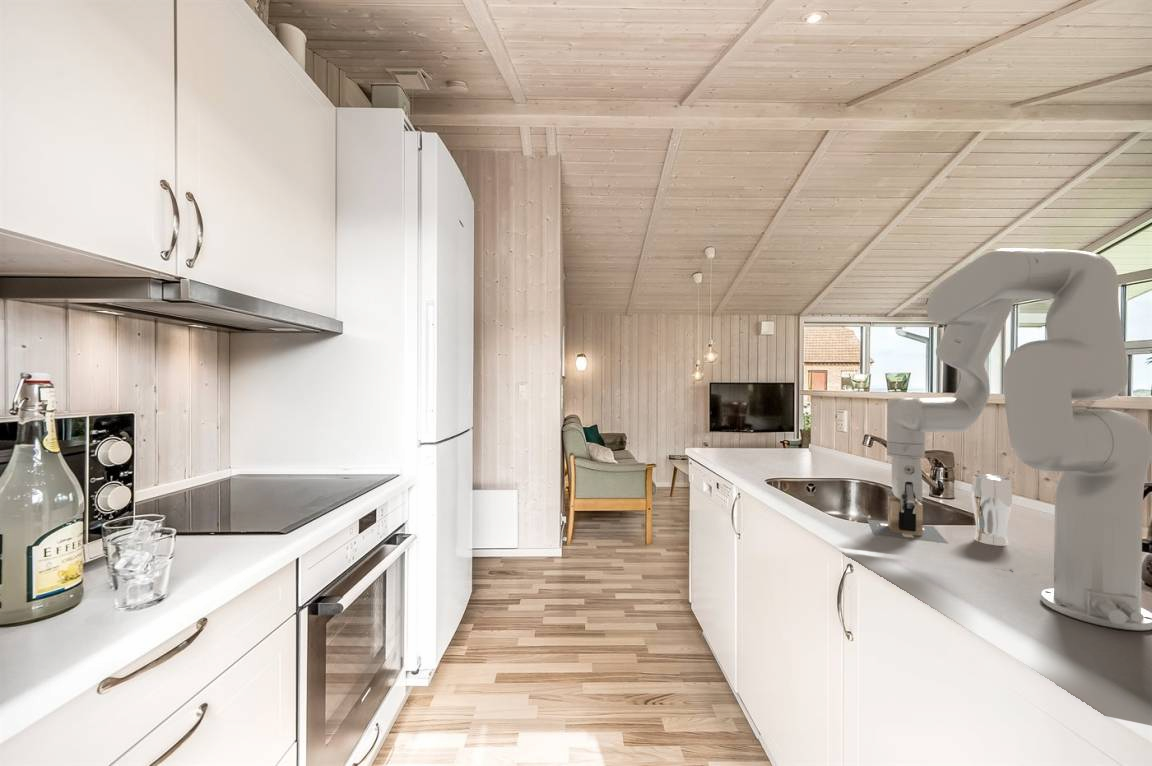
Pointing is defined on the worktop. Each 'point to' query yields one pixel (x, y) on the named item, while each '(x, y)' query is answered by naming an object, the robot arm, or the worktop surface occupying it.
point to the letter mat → (927, 534)
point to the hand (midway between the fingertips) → (904, 525)
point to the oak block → (894, 516)
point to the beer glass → (991, 508)
